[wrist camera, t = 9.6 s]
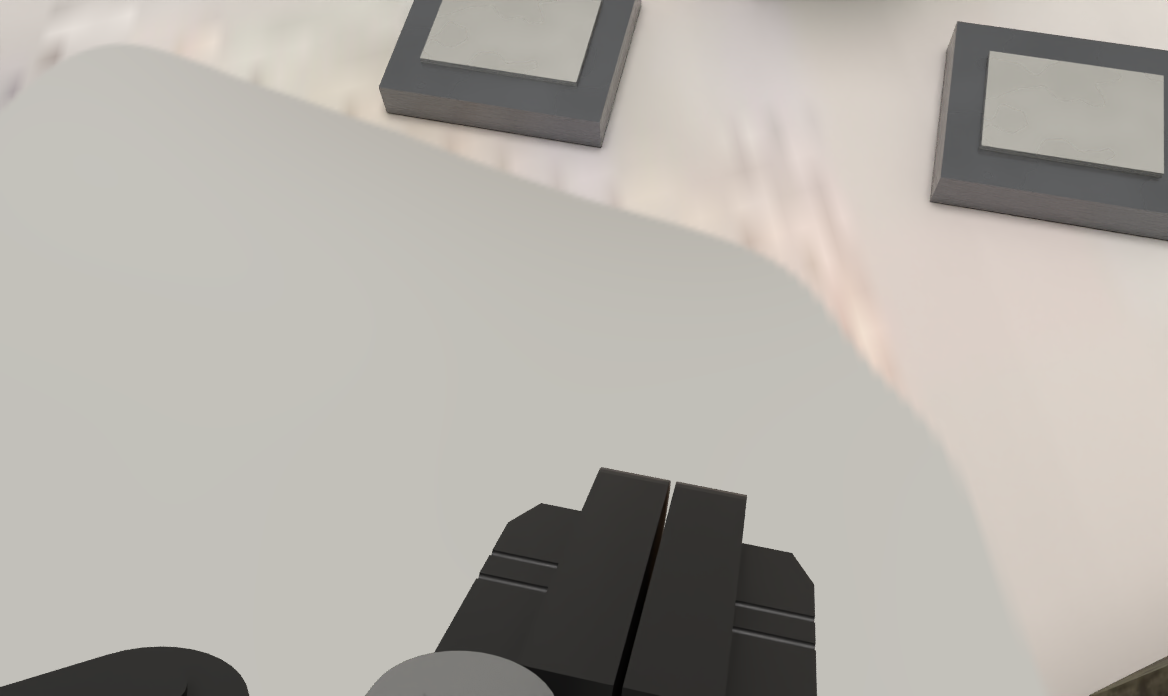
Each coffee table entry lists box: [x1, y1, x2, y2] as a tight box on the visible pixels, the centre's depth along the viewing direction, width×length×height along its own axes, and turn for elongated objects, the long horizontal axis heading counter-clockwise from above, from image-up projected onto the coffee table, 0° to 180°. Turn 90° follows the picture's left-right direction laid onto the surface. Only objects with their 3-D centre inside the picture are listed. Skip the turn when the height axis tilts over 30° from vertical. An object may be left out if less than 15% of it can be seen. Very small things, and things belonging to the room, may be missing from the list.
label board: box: [379, 0, 1168, 240], centre depth 33 cm, size 24×6×1 cm, turn 77°
